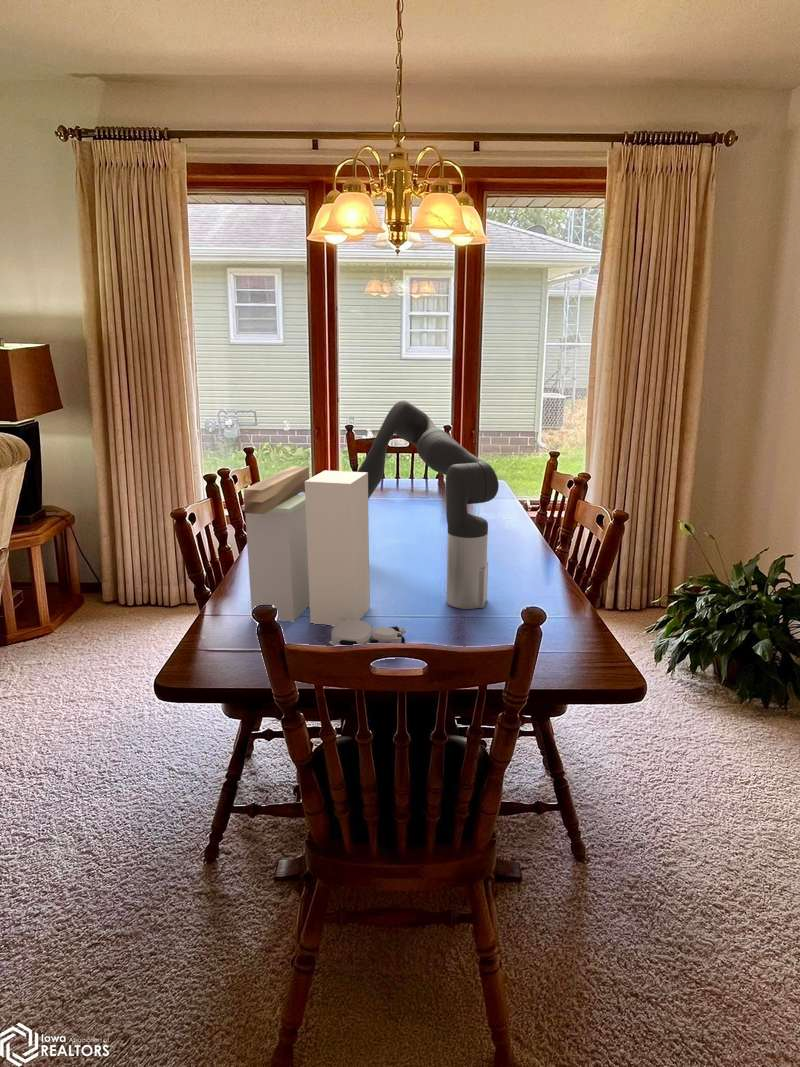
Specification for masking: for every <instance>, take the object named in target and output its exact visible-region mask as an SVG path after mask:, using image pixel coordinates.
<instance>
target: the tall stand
mask: <svg viewBox="0 0 800 1067" xmlns="http://www.w3.org/2000/svg"><path fill="white" fill-rule="evenodd" d="M304 495H305V503H306V527H307V551H308V576H309V600H310V606H309V615H310V616H309V622H310V623H315V624H325V625H326V624H328V625H336V624H338V623H339V622H340V621H343V620H341V619H340V617H342V618H344V619H350V620H360V619H361V618H362V619H363V618H364V617H365V615H366V614H367V612H369V610H370V609H371V601H370V598H371V597H370V595H371V594H370V592H371V591H370V582H371V581H370V539H369V538H370V536H369V535H370V532H369V530H370V529H369V528H370V527H369V523H370V522H369V500H368V472H357V471H348V470H347V471H346V470H345V471H344V470H326V469H325V470H322V471H321V472H320V473H317V474H316V475H314V476H311V477H309V479H308V480H306V481H305V494H304ZM369 608H370V609H369ZM368 609H369V610H368ZM365 613H366V614H365ZM364 614H365V615H364ZM362 619H361V620H362ZM361 620H360V621H361ZM315 624H314V625H315ZM325 625H324V626H325Z"/></svg>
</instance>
